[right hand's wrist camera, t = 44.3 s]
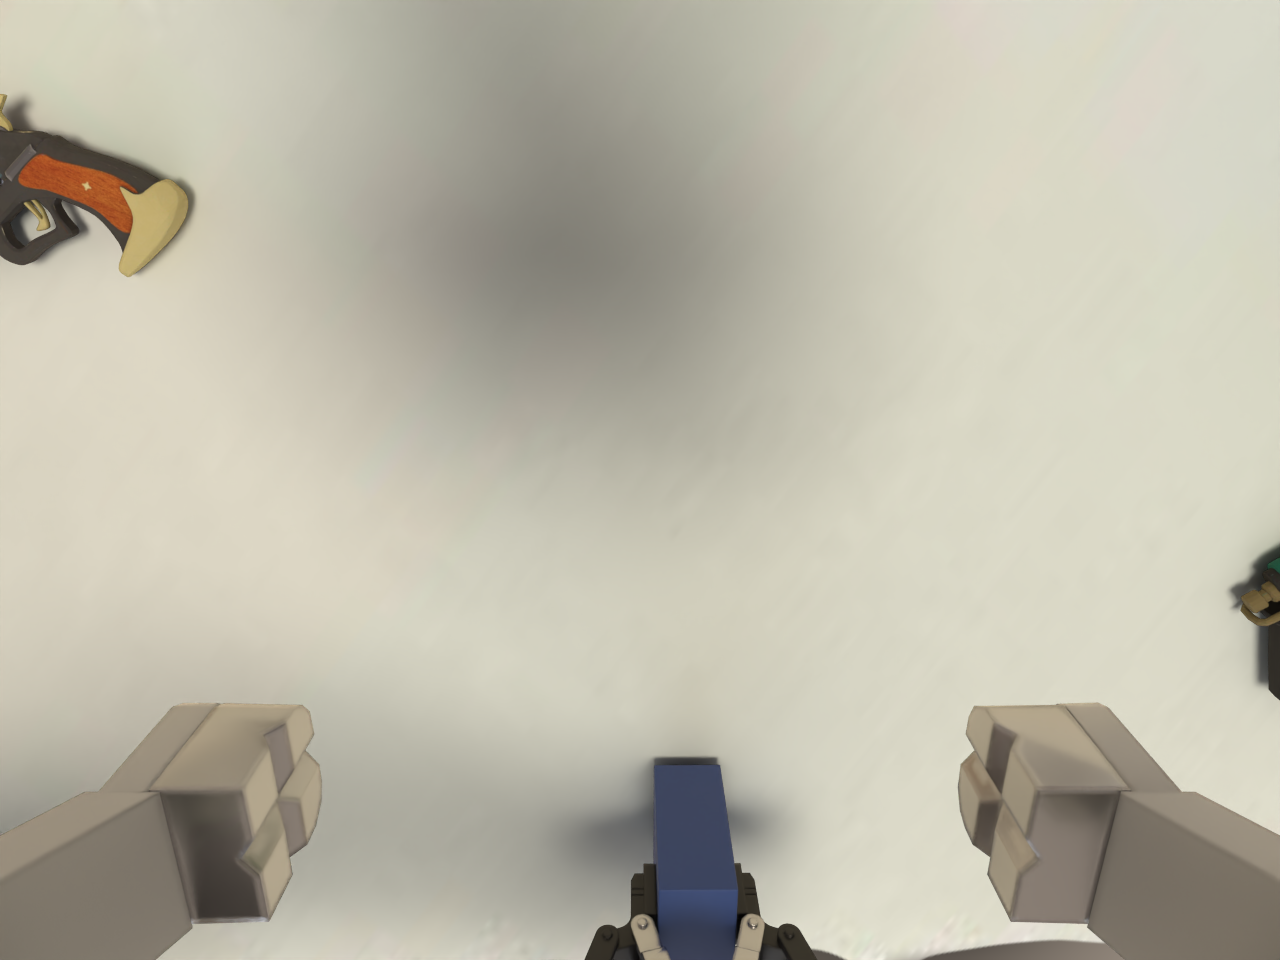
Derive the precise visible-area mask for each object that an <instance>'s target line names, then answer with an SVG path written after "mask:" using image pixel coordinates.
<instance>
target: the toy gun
mask: <svg viewBox="0 0 1280 960" xmlns="http://www.w3.org/2000/svg"><path fill="white" fill-rule="evenodd" d="M6 98H7V95H5V94H0V179H1V180H2V185H1V186H0V256H2V257H3V258H4V259H6V260H8V261H9V262H12V263H15V264H18V265H26V264H29V263H31V262H34V261H35V260H37V259H38V258H39V257H40V255H41V254H42V253H43V252H45V251H46V250H47V249H48V248H50V247H51V246H53V245H54V244H56V243H58V242H60V241H63V240H65V239H68V238H70V237H73V236H75V235H77V234H78V233H79V229H78V227H77V226H76V225H75V224H74V222H73V221H72V220H71V219H70V218H69V216H68V215H67V213H66V212H65V210H64V208H63V206H62V204H61V201H62V200H64V201H67V202H69V203H72V204H74V205H76V206H78V207H80V208H82V209H84V210H86V211H88V212H90V213H92V214H93V215H95V216H96V217H97V218H99V219H100V220H101V221H102V222H103V223H104V224H105V225H106V227H107V228H108V229H109V230H110V231H111V232H112V234H113V235H114V237H115V238H116V239H117V241H118V242H119V244H120V246H121V249H122V252H123V254H122V257H121V260H120V263H119V271H120V272H121V273H122V274H123V275H125V276H127V277H130V276H132V275H133V274H135V273H136V272H137V271H139V270H140V269H141V268H142V267H143V266H145V265H146V264H147V263H148V262H149V261H150V260H151V259H152V258H153V257H154V256H155V255H156V254H157V253H158V252H159V251H160V250H161V249H162V248H163V247H164V246H165V245H166V244H167V243H168V242H169V241H170V240H171V239H172V238H173V237H174V235H175V234H176V233H177V231H178V229H179V228H180V226H181V225H182V223H183V221H184V219H185V217H186V214H187V210H188V199H187V195H186V194H185V192H184V191H183V190H182V189H181V188H180V187H179V186H178V185H177V184H175V183H174V182H173V181H172V180H169V179H165V180H162V181H160V180H159V179H157V178H156V177H154V176H152V175H150V174H148V173H146V172H144V171H142V170H140V169H139V168H137V167H134V166H132V165H130V164H128V163H125V162H123V161H120V160H117V159H114V158H111V157H109V156H105V155H102V154H99V153H95V152H92V151H89V150H85V149H82V148H79V147H77V146H75V145H72V144H71V143H69V142H68V141H66V140H65V139H64V138H62V137H61V136H57V135H56V136H52V135H50V134H48V133H45V132H41V131H24V130H17V129H13V127H12V125H11V123H10V122H9V120H8V119H7V118H6V117H5V116H4V115H3V113H2V109H3V106H4V104H5V101H6ZM30 201H32V202H33V203H34V204H35V205H36V206H37V208H38V209H39V210H40V212H41V213H40V212H39V211H38V210H37V209H36V208H35V207H34V206H33V205H32V204H31V202H30ZM40 203H41V204H42V205H43V206H44V207H45V208H46V209H47V210H48V211H49V212H50V213H51V215H52V217H53V219H54V221H55V224H56V228H55V229H54V230H52V231H50V232H48V233H46V234H44V235H42V236H40V237H38V238H36V239H34V240H32V241H31V242H29V243H28V244H27V245H26V246H24V245H22V244H21V243H20V242H19V241H18V240H17V239H16V237H15V235H14V233H13V231H12V228H11V225H10V222H11V221H12V220H13V219H14V218H15V217H16V215H17V214H18V213H19V212H20V211H21V210H22V209H23V208H24V207H25V206H26V207H27V208H28V209H29V210H30V211H31V212H32V213H33V214H34V215H35V216H36V217H37V218H38V219H39V225H38V227H37V231H42V230H46V229H48V228H50V222H49V219H48V216H47V214H46V212H45V209H44V208H43V207H42V205H41V204H40ZM41 214H42V215H41Z"/></svg>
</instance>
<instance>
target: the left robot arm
mask: <svg viewBox="0 0 1280 960" xmlns="http://www.w3.org/2000/svg"><path fill="white" fill-rule="evenodd" d="M734 865H735V871H736V878H737V885H738V903H737V921H736V940H735V945H736V946H735V950H734V954H733V959H732V960H817V959H816V957H815V955H814V953H813V952H812V950H811V948H810V947H809V945H808V943H807V942H806V940H805V938H804V937H803V935H802V933H801V931H800V930H799V929H798V928H797V927H796V926H795V925H792V924H783V925H781V926H780V927H779V928H775V927H772V926H769V925H768V924H766V923H765V922H764V921H763V919H762V918H761V916H760V910H759V904H758V898H757V892H756V886H755V880H754V879H753V877H752V876H751V874H750V873H742V870H741V864H740V863H734ZM585 960H671V959H670V956H669V953H668V951H667V948H666V947H665V946H664V947H663V945H662V942H661V940H660V937H659V934H658V932H657V889H656V864H644V874H634V876H633V878H632V880H631V919H630V921H629V922H628V923H627V924H626V925H625V926H623V927H621V928H618V929H617V928H616V927H614V926H612V925H604V926H601V927H600V928H599V929H598V930H597V932H596V934H595V936H594V939H593V941H592V943H591V946H590V948H589V951H588V953H587V955H586V958H585Z"/></svg>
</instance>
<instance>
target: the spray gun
mask: <svg viewBox="0 0 1280 960" xmlns="http://www.w3.org/2000/svg"><path fill="white" fill-rule="evenodd" d="M1267 567H1268V570H1266V571H1264V572H1263V577H1264V579H1265V580H1266V583H1264V584H1263V585H1262V588H1261V589H1262V590H1260V591H1257V590H1252V591H1250V592H1249V593H1247V594H1245V595H1243V596H1241V599H1242V601H1243V605H1242V607H1241V610H1240V611H1241V612H1242V613H1243V614H1244V615H1245V616H1246V617H1247V619H1248V620H1250V621H1252V622H1253V623H1255V624H1256V625H1259V626H1269V636H1268V671H1269V690H1270V691H1271V692H1272V693H1273V695H1274V696H1275V697H1277V698H1278V699H1279V700H1280V557H1279V558H1278V559H1276V560H1274V561H1272V562H1270V563H1269V564H1268V565H1267ZM1250 610H1251V611H1252V612H1253V613H1257V612H1259V611H1260V612H1261V613H1262V614H1264V615H1265V616H1266V617H1267V618H1266V619H1260V618H1258V617H1257V616H1255V615H1254V614H1253V613H1252V612H1251V611H1250Z"/></svg>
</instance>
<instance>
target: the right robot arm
mask: <svg viewBox="0 0 1280 960" xmlns="http://www.w3.org/2000/svg"><path fill="white" fill-rule="evenodd" d="M313 736H314V730H313V725H312V720H311V715H310V711H309V710H308V709H306V708H305V707H304V706H303V705H282V704H236V703H223V704H219V703H182V704H180V705H177V706H174V707H172V708H171V709H170V710H169V711H168V712H167V713H166V715H165V716H164V717H163V718H162V719H161V720H160V721H159V723H158V724H157V725H156V726H155V727H154V728H153V729H152V731H151V732H150V733H149V734H148V735H147V736H146V738H145V739H144V740H143V741H142V742H141V743H140V744H139V746H138V747H137V748H136V749H135V750H134V751H133V752H132V754H131V755H130V756H129V757H128V758H127V759H126V760H125V762H124V763H123V764H122V765H121V766H120V767H119V768H118V770H117V771H116V772H115V773H114V774H113V775H112V777H111V778H110V779H109V780H108V781H107V782H106V783H105V785H104V786H103V787H102V788H101V789H100V790H99V791H98V792H84V793H82V794H80V795H78V796H76V797H74V798H72V799H70V800H68V801H66V802H64V803H62V804H60V805H58V806H56V807H54V808H53V809H51V810H49V811H47V812H45V813H43V814H41V815H39V816H37V817H35V818H33V819H31V820H29V821H27V822H25V823H23V824H21V825H20V826H18V827H16V828H14V829H12V830H10V831H8V832H6V833H4V834H2V835H0V960H156V959H157V958H158V957H159V956H160V955H162V954H163V953H164V952H165V951H166V950H167V949H169V948H170V947H171V946H172V945H173V944H174V943H176V942H177V941H178V940H179V939H180V938H181V937H183V936H184V935H185V934H186V933H187V932H188V931H190V930H191V929H192V924H203V923H237V922H269V921H270V919H271V917H272V915H273V913H274V911H275V909H276V907H277V905H278V903H279V901H280V899H281V897H282V895H283V893H284V891H285V889H286V887H287V885H288V883H289V881H290V879H291V877H292V875H293V873H292V868H291V862H290V857H291V856H292V855H293V854H295V853H296V852H298V851H299V850H300V849H302V848H303V847H304V846H306V845H307V844H308V842H309V840H310V837H311V835H312V833H313V831H314V829H315V827H316V823H317V819H318V814H319V810H320V805H321V799H322V779H321V773H320V766H319V764H318V763H317V762H316V761H315V760H314V759H313V758H312V757H311V756H310V754H309V753H308V752H307V751H306V748H307V746H308V745H309V743H310V741H311V739H312V737H313ZM966 736H967V737H968V739H969V741H970V743H971V745H972V746H973V748H974V751H973V752H972V753H971V754H970V756H969V757H968V758H967V759H966V760H965V761H964V762H963V763H962V764H961V766H960V774H959V782H958V794H959V805H960V812H961V816H962V819H963V823H964V826H965V829H966V831H967V833H968V835H969V837H970V840H971V842H972V844H973V845H974V846H976V847H977V848H978V849H980V850H981V851H982V852H984V853H985V854H987V855H988V856H989V857H990V862H989V868H988V873H987V875H988V877H989V879H990V881H991V883H992V885H993V887H994V889H995V891H996V893H997V895H998V897H999V899H1000V901H1001V903H1002V905H1003V907H1004V909H1005V911H1006V913H1007V915H1008V917H1009V919H1010V921H1011V922H1042V923H1077V924H1088V926H1087V928H1088V929H1090V930H1091V931H1092V932H1093V933H1094V934H1095V935H1097V936H1098V937H1099V938H1100V939H1101V940H1102V941H1104V942H1105V943H1106V944H1107V945H1108V946H1109V947H1111V948H1112V949H1113V950H1114V951H1115V952H1116V953H1118V954H1119V955H1120V956H1121V957H1122V958H1123V959H1125V960H1280V835H1278V834H1276V833H1274V832H1272V831H1270V830H1268V829H1266V828H1264V827H1262V826H1260V825H1258V824H1256V823H1254V822H1253V821H1251V820H1249V819H1247V818H1245V817H1243V816H1241V815H1239V814H1237V813H1235V812H1233V811H1231V810H1229V809H1227V808H1225V807H1224V806H1222V805H1220V804H1218V803H1216V802H1214V801H1212V800H1210V799H1208V798H1206V797H1204V796H1202V795H1200V794H1198V793H1196V792H1182V791H1181V790H1180V789H1179V788H1178V787H1177V786H1176V785H1175V783H1174V782H1173V781H1172V780H1171V779H1170V778H1169V777H1168V775H1167V774H1166V773H1165V772H1164V771H1163V770H1162V769H1161V767H1160V766H1159V765H1158V764H1157V763H1156V762H1155V760H1154V759H1153V758H1152V757H1151V756H1150V755H1149V754H1148V752H1147V751H1146V750H1145V749H1144V748H1143V747H1142V746H1141V744H1140V743H1139V742H1138V741H1137V740H1136V739H1135V738H1134V736H1133V735H1132V734H1131V733H1130V732H1129V731H1128V730H1127V728H1126V727H1125V726H1124V725H1123V724H1122V723H1121V722H1120V720H1119V719H1118V718H1117V717H1116V716H1115V715H1114V713H1113V712H1112V711H1111V710H1110V709H1109V708H1108V707H1106V706H1104V705H1102V704H1100V703H1068V704H1056V705H1009V706H974V707H973V709H972V711H971V713H970V715H969V718H968V724H967V729H966Z"/></svg>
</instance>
